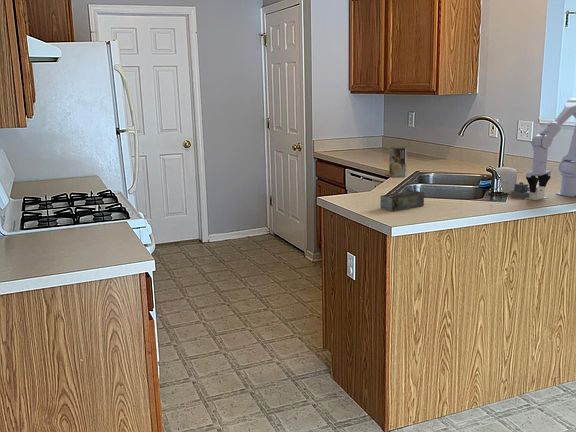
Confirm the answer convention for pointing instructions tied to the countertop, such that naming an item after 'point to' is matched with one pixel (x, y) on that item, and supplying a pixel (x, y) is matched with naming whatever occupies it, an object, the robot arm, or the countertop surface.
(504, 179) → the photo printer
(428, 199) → the countertop surface
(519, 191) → the power strip
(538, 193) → the block
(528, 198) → the pad
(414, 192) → the beverage carton
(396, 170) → the coffee box
